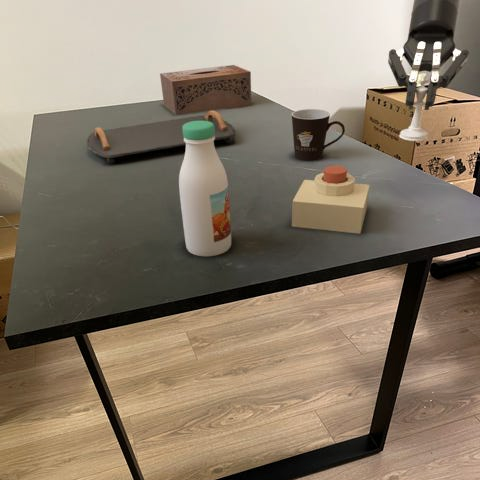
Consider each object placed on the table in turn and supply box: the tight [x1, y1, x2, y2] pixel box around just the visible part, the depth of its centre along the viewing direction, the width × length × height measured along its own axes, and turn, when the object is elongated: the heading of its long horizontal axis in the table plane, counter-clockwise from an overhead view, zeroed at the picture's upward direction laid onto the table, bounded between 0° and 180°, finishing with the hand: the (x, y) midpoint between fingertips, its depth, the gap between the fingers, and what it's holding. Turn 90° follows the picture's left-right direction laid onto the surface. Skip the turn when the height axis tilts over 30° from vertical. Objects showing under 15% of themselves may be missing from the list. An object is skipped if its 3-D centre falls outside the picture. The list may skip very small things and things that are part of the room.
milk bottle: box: [178, 121, 232, 257], centre depth 73 cm, size 8×8×20 cm
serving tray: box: [86, 110, 236, 166], centre depth 123 cm, size 39×23×6 cm, turn 113°
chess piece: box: [398, 75, 430, 142], centre depth 83 cm, size 5×5×10 cm
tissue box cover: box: [159, 64, 252, 116], centre depth 153 cm, size 26×14×10 cm, turn 112°
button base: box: [291, 172, 370, 235], centre depth 84 cm, size 12×10×7 cm
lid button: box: [323, 165, 348, 184], centre depth 83 cm, size 4×4×2 cm
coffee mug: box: [291, 108, 346, 162], centre depth 108 cm, size 12×9×10 cm
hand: (419, 106), depth 80 cm, fingers closed on chess piece
